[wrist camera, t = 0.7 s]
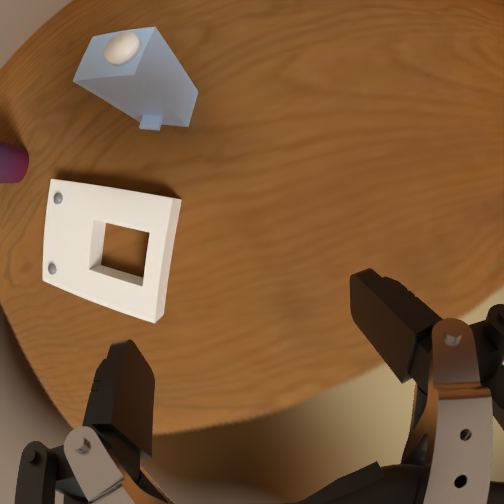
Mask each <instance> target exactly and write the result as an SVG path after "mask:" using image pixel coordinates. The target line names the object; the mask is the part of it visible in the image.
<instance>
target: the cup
mask: <svg viewBox="0 0 504 504" xmlns="http://www.w3.org/2000/svg"><path fill="white" fill-rule="evenodd" d="M28 162H29V157H28V152H27V150H26V149H24V148H21V147H18V146H14V145H11V144H7V143H4V142H0V183H17V182H20V181H21V180H22V179H23V177H24V176H25V174H26V171H27V168H28Z"/></svg>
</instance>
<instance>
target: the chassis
mask: <svg viewBox="0 0 504 504" xmlns="http://www.w3.org/2000/svg"><path fill="white" fill-rule="evenodd" d="M181 201H182V200H181V199H176V198H171V197H165V196H160V195H154V194H148V193H143V192H137V191H131V190H125V189H119V188H113V187H106V186H100V185H93V184H87V183H80V182H73V181H65V180H56V179H51V183H50V189H49V196H48V203H47V211H46V220H45V232H44V247H43V281H45V282H47V283H49V284H52V285H54V286H56V287H59V288H61V289H63V290H65V291H68V292H70V293H73V294H75V295H77V296H80V297H82V298H85V299H87V300H90V301H92V302H95V303H98V304H100V305H103V306H106V307H108V308H111V309H114V310H117V311H119V312H122V313H125V314H128V315H131V316H134V317H137V318H140V319H143V320H146V321H149V322H152V323H156V322H157V321H158V320H159V319H160V318H161V317H162V316H163V315H164V308H165V299H166V291H167V284H168V277H169V270H170V263H171V257H172V251H173V245H174V239H175V233H176V227H177V222H178V217H179V211H180V206H181ZM106 223H110V224H115V225H119V226H123V227H128V228H132V229H136V230H141V231H145V232H150V235H149V241H148V248H147V255H146V262H145V270H144V278H143V277H139V276H136V275H132V274H129V273H125V272H122V271H119V270H116V269H112V268H109V267H106V266H103V265H101V263H102V252H103V243H104V234H105V226H106Z"/></svg>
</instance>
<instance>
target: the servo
mask: <svg viewBox="0 0 504 504" xmlns="http://www.w3.org/2000/svg"><path fill="white" fill-rule="evenodd" d="M73 82H74V83H76V84H78V85H80V86H81V87H83V88H85V89H86V90H88V91H90V92H91V93H93V94H95V95H96V96H98V97H100V98H101V99H103V100H105V101H106V102H108V103H110V104H111V105H113V106H115V107H116V108H118V109H119V110H121V111H123V112H124V113H126V114H127V115H129V116H131V117H132V118H134V119H135V120H137V121H138V122H140V126H139V128H140V129H145V130H158V131H160V127H161V125H173V126H183V127H189V123H190V120H191V116H192V113H193V109H194V106H195V102H196V99H197V96H198V90H197V89H196V87H195V86H194V84H193V83H192V81H191V80H190V78H189V76H188V75H187V73H186V72H185V70H184V69H183V67H182V66H181V64H180V63H179V61H178V60H177V58H176V57H175V55H174V54H173V52H172V51H171V49H170V48H169V46H168V45H167V43H166V42H165V40H164V39H163V37H162V36H161V34H160V33H159V31H158V30H157V28H156V27H148V28H139V29H132V30H125V31H119V32H113V33H108V34H103V35H98V36H94V37H93V38H92V39H91V41H90V43H89V45H88V47H87V50H86V52H85V54H84V56H83V58H82V60H81V63H80V65H79V67H78V69H77V72H76V74H75V77H74V79H73Z"/></svg>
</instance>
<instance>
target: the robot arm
mask: <svg viewBox="0 0 504 504" xmlns="http://www.w3.org/2000/svg"><path fill="white" fill-rule="evenodd" d="M350 308H351V314H352V317H353V320H354V322H355V323H356V325H357V326H358V327H359V329H360V330H361V331H362V332H363V334H364V335H365V336H366V337H367V339H368V340H369V341H370V343H371V344H372V345H373V346H374V348H375V349H376V350H377V352H378V353H379V354H380V355H381V357H382V358H383V359H384V361H385V362H386V363H387V364H388V366H389V367H390V368H391V370H392V371H393V372H394V374H395V375H396V376H397V377H398V379H399V380H400V381H401V383H402V384H403V383H404V382H406V381H408V380H409V379H411V378H413V379H414V380H415V382H416V385H415V390H414V400H413V409H412V418H411V424H410V431H409V435H408V439H407V442H406V445H405V448H404V451H403V454H402V459H401V463H400V464H398V465H389V466H384V467H380V466H379V464H378V463H377V461H376V462H374V463H372V464H370V465H368V466H366V467H364V468H362V469H360V470H358V471H355V472H353V473H351V474H348V475H346V476H343V477H341V478H339V479H337V480H335V481H334V482H332V483H331V484H329V485H327V486H326V487H324V488H323V489H321V490H319V491H318V492H316V493H314V494H313V495H311V496H309V497H307V498H306V499H304V500H302V501H300V502H296V503H284V504H504V482H496V481H490V478H491V468H492V454H493V416H494V417H495V418H496V420H497V422H498V423H499V424H500V426H501V427H502V428H503V430H504V365H503V364H502V363H503V361H504V304H497V305H494V306H493V307H491V308H490V309H489V312H488V314H487V317H486V320H484V321H481V322H478V323H474V324H471V325H467V324H466V323H465V322H463V321H461V320H459V319H455V318H447V319H442V318H441V317H439V316H438V315H437V314H436V313H435V312H434V311H433V310H432V309H430V308H429V307H428V306H427V305H426V304H425V303H423V302H422V301H421V300H420V299H419V298H418V297H415V295H414V294H413V293H412V292H411V291H408V290H407V288H406V287H405V286H403V285H402V284H401V283H400V282H399V281H396V280H394V279H391V278H388V277H383V278H382V277H381V276H380V275H378V274H377V273H376V272H375V271H374V270H372V269H370V268H369V269H366V270H363V271H361V272H358V273H355V274H352V275H351V276H350ZM154 389H155V379H154V375H153V372H152V369H151V368H150V366H149V364H148V363H147V362H146V360H145V358H144V357H143V355H142V354H141V352H140V351H139V349H138V348H137V346H136V344H135V343H134V342H133V341H132V340H126V341H121V342H117V343H112V344H111V346H110V349H109V352H108V356H107V359H104V360H103V361H102V363H101V364H100V366H99V367H98V368H97V370H96V373H95V377H94V383H93V384H92V388H91V393H90V396H89V400H88V404H87V408H86V412H85V416H84V421H83V425H82V426H81V427H78V428H76V429H74V430H73V431H71V432H70V433H69V435H68V436H67V438H66V440H65V443H64V445H62V446H59V447H56V448H52V449H49V448H47V447H46V446H45V445H44V444H42V443H41V442H39V441H34V442H31V443H29V444H28V445H27V446H26V447H25V448H24V450H23V452H22V456H21V461H20V466H19V472H18V478H17V486H16V495H15V504H55V490H56V491H58V492H60V493H62V494H64V504H175V503H174V502H172V500H171V499H170V498H169V497H167V495H166V494H165V493H164V492H163V491H162V490H161V489H160V488H159V486H158V485H157V484H156V483H155V482H154V481H153V480H152V479H151V477H150V476H149V475H148V474H147V473H146V471H145V470H144V469H143V468H142V467H141V466H140V458H152V426H153V404H154Z"/></svg>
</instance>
